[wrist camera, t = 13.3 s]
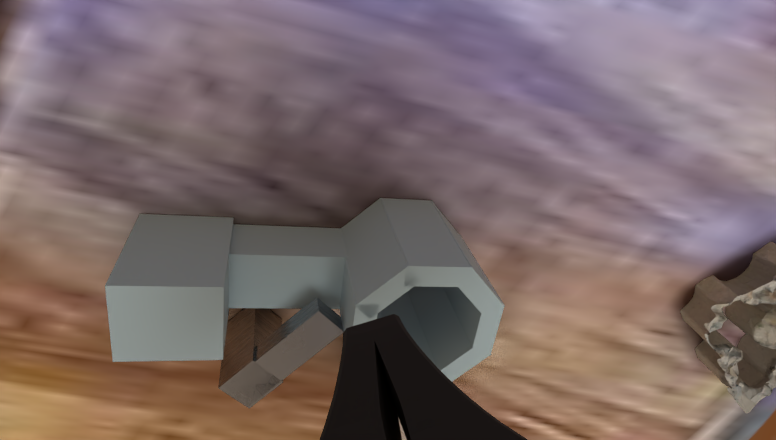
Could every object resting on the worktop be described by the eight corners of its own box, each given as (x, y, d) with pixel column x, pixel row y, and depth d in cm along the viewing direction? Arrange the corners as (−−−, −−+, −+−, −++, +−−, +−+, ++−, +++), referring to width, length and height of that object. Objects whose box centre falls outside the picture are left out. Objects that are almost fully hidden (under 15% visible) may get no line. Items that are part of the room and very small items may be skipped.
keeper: (334, 275, 24) (345, 333, 21) (252, 342, 25) (249, 408, 21) (310, 253, 23) (316, 309, 20) (226, 322, 24) (218, 388, 21)
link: (467, 201, 24) (515, 267, 19) (443, 305, 26) (481, 387, 21) (138, 184, 21) (97, 258, 16) (145, 303, 23) (112, 398, 18)
